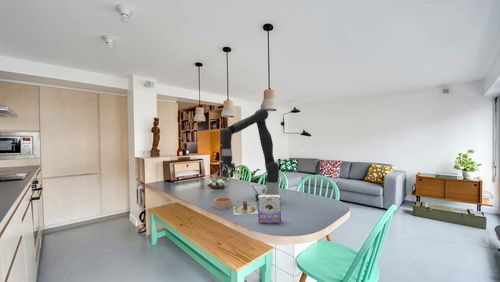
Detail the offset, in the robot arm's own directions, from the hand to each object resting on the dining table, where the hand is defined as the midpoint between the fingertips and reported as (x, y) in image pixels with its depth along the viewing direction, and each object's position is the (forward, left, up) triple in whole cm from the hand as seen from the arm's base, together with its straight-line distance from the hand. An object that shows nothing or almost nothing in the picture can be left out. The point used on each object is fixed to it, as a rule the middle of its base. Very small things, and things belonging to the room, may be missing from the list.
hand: (227, 176), depth 160 cm
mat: (-12, +7, -24) cm, 27 cm away
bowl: (+4, -4, -24) cm, 24 cm away
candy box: (-25, +30, -24) cm, 46 cm away
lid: (-12, +7, -23) cm, 27 cm away
